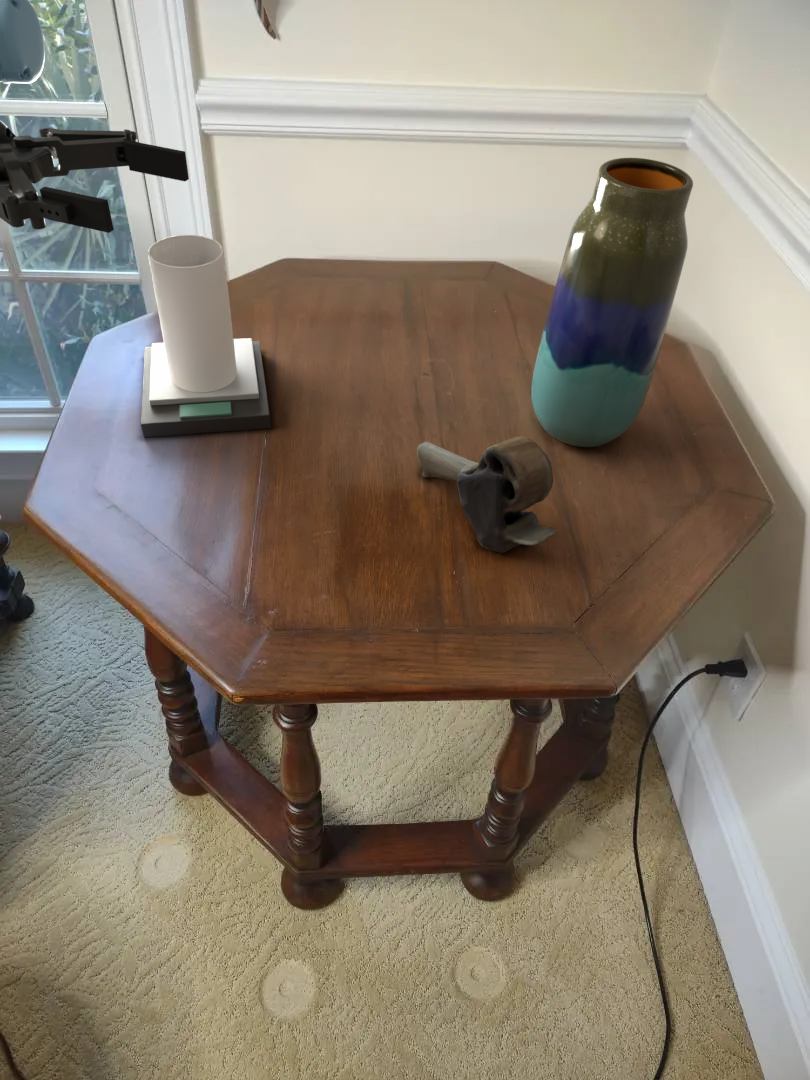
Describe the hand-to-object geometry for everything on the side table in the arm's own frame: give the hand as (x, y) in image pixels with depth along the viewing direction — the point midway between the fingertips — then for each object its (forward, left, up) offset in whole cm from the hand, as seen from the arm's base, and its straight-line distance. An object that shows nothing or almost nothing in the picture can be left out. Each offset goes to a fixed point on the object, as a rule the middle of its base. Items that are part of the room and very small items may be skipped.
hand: (149, 190), depth 74 cm
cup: (+2, +7, -25) cm, 26 cm away
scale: (+2, +7, -28) cm, 29 cm away
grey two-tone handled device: (+31, -20, -28) cm, 47 cm away
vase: (+48, -6, -28) cm, 56 cm away
